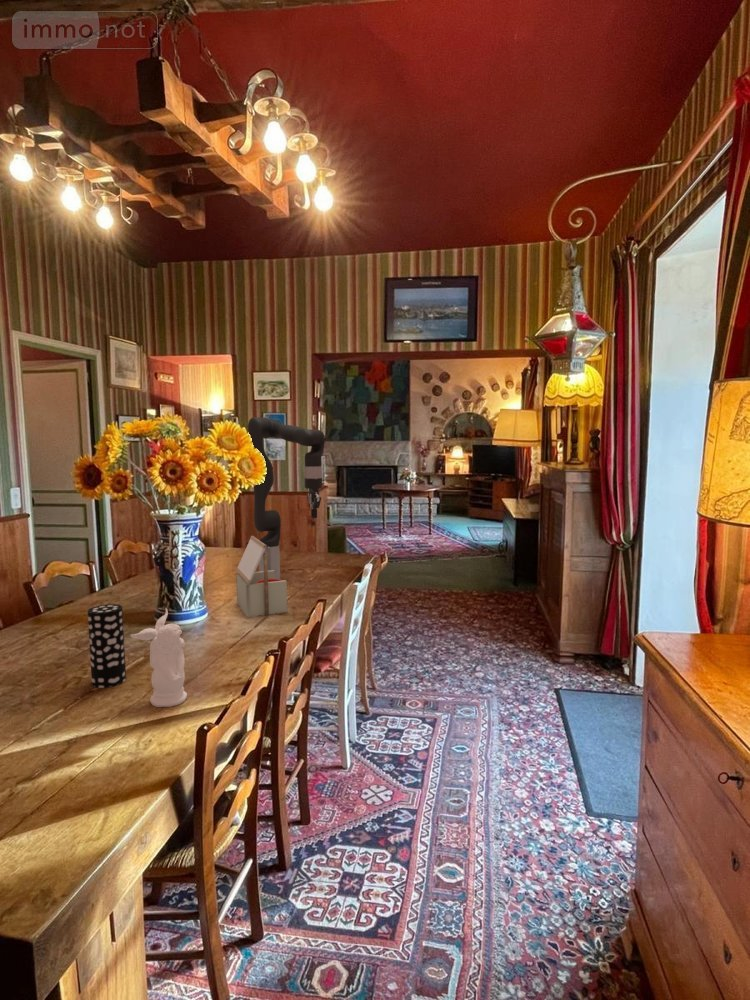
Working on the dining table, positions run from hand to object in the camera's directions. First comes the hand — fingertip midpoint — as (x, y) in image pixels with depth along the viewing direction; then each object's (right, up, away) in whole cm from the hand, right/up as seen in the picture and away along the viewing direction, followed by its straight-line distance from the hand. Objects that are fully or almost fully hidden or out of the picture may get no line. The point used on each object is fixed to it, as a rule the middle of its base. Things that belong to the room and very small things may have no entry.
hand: (314, 517), depth 237 cm
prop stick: (-14, -35, -31) cm, 49 cm away
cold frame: (-18, -34, -20) cm, 44 cm away
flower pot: (-15, -34, -19) cm, 42 cm away
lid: (-21, -15, -24) cm, 35 cm away
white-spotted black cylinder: (-46, -41, -87) cm, 107 cm away
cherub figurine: (-27, -42, -99) cm, 111 cm away
